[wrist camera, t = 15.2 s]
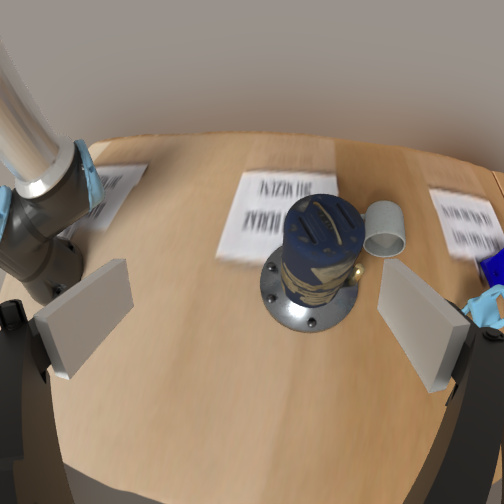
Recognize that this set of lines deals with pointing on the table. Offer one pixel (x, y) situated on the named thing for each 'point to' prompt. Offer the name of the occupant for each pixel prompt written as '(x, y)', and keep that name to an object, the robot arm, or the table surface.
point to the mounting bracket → (494, 269)
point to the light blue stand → (486, 308)
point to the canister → (319, 248)
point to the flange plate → (301, 316)
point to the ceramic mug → (384, 229)
